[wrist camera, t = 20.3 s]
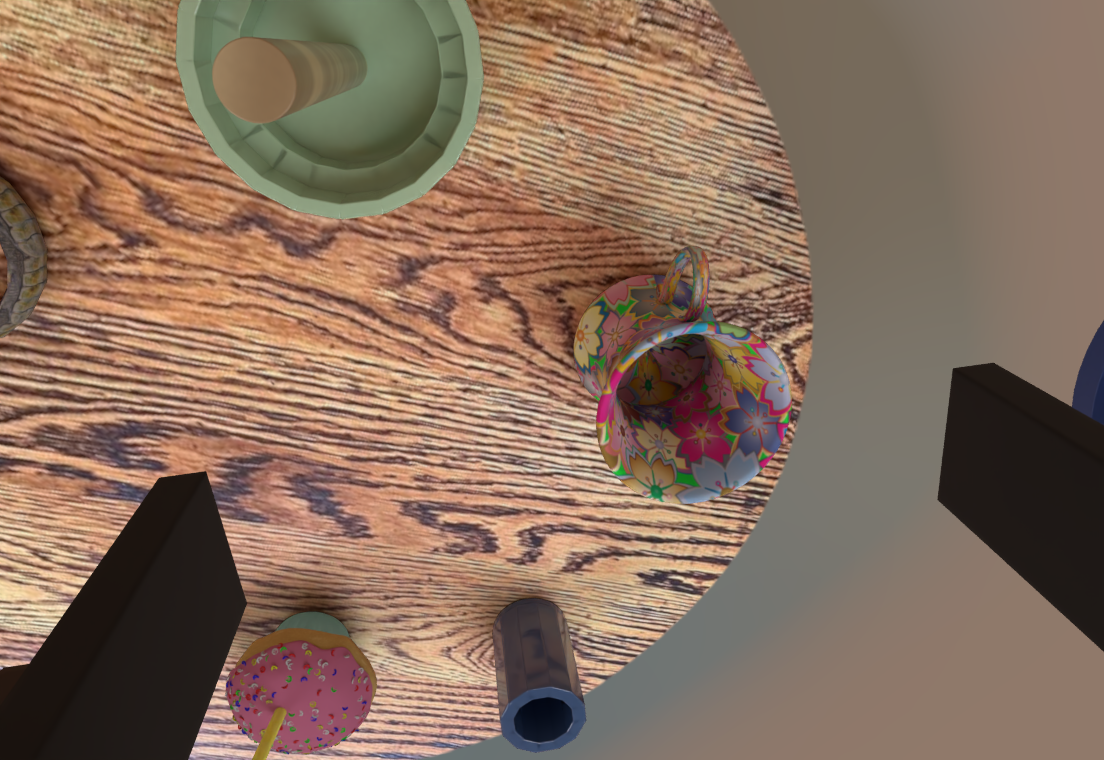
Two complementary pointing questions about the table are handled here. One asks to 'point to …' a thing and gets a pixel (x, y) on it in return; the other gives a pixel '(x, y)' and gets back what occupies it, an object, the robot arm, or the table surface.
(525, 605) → the holder
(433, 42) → the bowl
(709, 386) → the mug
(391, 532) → the table surface
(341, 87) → the stick
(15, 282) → the decorative ring
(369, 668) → the cupcake
